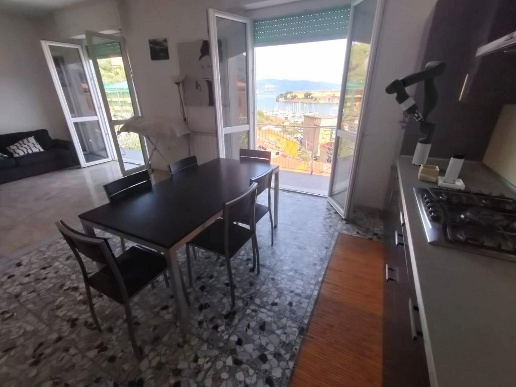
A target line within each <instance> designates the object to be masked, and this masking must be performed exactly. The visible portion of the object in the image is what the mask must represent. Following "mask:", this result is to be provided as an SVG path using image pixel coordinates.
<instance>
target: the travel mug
mask: <svg viewBox="0 0 516 387" xmlns="http://www.w3.org/2000/svg"><path fill="white" fill-rule="evenodd" d="M467 155H468V154H467V152H453V153H452V155H451V158H450V161H449V163H448V166H447V169H446V171H445V172H446V173H445V175H444V177H445V178H444V180H443V182H444V183H448V184H455V183H456V180H457V179H459V178H458V177H459V175H460V172H461V169H462V167H463V164H464V161H465V158H466V156H467Z"/></svg>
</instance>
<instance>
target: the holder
mask: <svg viewBox="0 0 516 387" xmlns="http://www.w3.org/2000/svg"><path fill="white" fill-rule="evenodd" d="M439 174H440V169H439V166H438V165H430V164H425V165H424V164H421V166H419V170H418V174H417V177H418V178H417V179H418V180H420V181H427V182H433V183H437V180H436V179H437V176H439Z"/></svg>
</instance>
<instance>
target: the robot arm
mask: <svg viewBox="0 0 516 387" xmlns="http://www.w3.org/2000/svg"><path fill="white" fill-rule="evenodd" d="M447 69H448V65H447V63H446V62H445V61H443V60H430V61H429V62H427V63H426V65H425V67H424V70H419V71H417V72H412V73H410V74H408V75H407V74H406V75H405V76H403V77H401V78H400V79H399V78H395V79H393V80H391V82H389V83H388V84H387V85H386V86H385V93H386V94H387V95H394V94H396V96H395V101H396V103H397V104H399V106H400V108H401V109H402V110H403V111H404V112H405V114H406V115H407V116H410V115H412V117H413V119H415V121H416V122H418V123H419V125H418V133H420V134H421V135H426V137H422V138H418V140H417V144H416V147H415V150H414V154H413V159H412V161H411V164H412V165H414V164H415V166H419V165H421V164H424V165H427V164H426V163H427V160H428V157H429V153H430V150H431V147H432V143H433V142H434V139H435V136H436V133H437V130H438V128H439V124H438V123H437V122H434V121H428V119H429V116H430V114H431V113H432V112H434V110H435V109H436V108H437V106H438V105H439V96H440V93H439V90H438V88H437V86H436V82H435V78H437V77H441V76H442V75H444V74H445V72H446V70H447ZM421 82H423V97H422V103H421V104H422V105H421V113H420V111H418V110H419V109H420V105H418V103H416V101H415V100H414V99H413V98H412V97H411V96H410V95H409V93H408V92H407V91H406V88H408V87H411V86H413V85H416V84H418V83H421Z"/></svg>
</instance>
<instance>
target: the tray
mask: <svg viewBox="0 0 516 387" xmlns="http://www.w3.org/2000/svg"><path fill="white" fill-rule="evenodd" d="M444 178H445V176H440V175H438V176H437V179H436V183H437V186H438V187H439V186H440V187H441V188H446V187H447V189H452V188H453V189H454V190H459V189H461V191H464V190H465V188H466V185H465V183H464V182H463V180H462V179H461V178H457V180H456V183H455V184H448V183H444V182H443V180H444Z"/></svg>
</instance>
